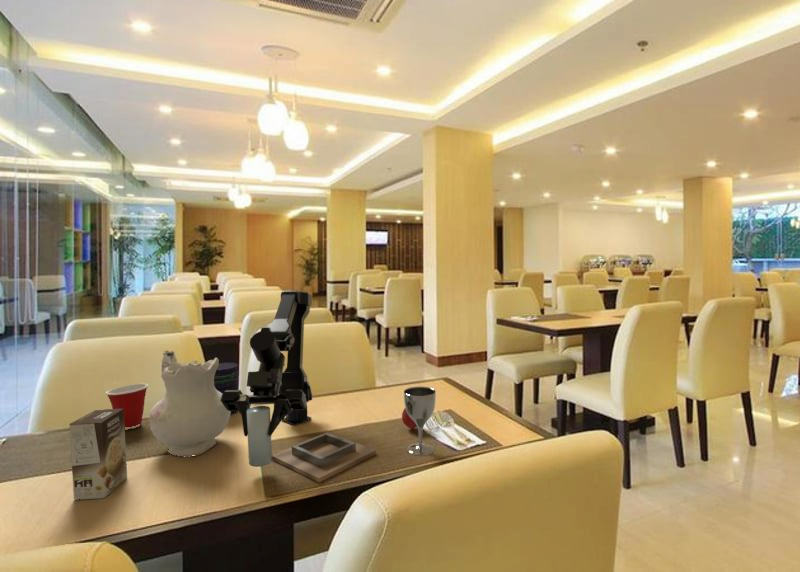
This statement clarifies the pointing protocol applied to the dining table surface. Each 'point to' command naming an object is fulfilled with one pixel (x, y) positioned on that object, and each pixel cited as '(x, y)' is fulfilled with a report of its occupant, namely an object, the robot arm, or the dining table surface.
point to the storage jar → (226, 378)
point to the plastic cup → (129, 402)
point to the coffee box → (98, 453)
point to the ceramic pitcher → (188, 407)
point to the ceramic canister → (259, 436)
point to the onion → (408, 420)
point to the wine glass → (420, 414)
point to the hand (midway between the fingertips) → (257, 435)
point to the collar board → (323, 456)
